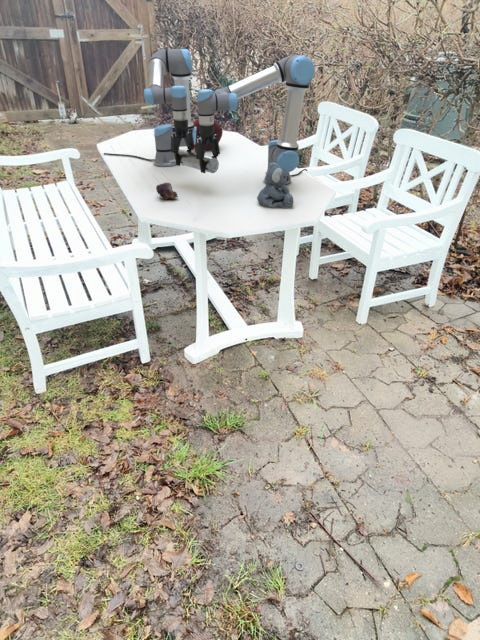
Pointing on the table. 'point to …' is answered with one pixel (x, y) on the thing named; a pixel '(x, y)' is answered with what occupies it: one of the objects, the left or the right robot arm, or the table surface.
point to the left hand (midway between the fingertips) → (184, 163)
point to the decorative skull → (217, 131)
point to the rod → (197, 161)
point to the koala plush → (275, 189)
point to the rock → (166, 191)
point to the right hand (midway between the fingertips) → (208, 170)
